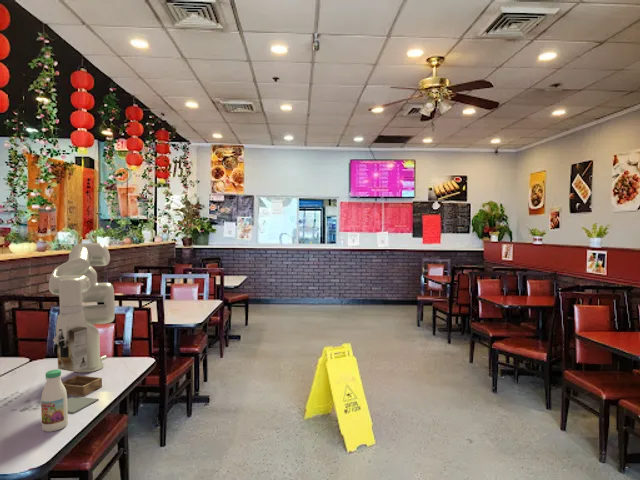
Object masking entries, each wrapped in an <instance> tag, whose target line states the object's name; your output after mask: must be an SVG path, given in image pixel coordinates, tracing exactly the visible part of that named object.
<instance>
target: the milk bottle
mask: <svg viewBox="0 0 640 480" xmlns="http://www.w3.org/2000/svg"><path fill="white" fill-rule="evenodd" d="M61 377H62V370H61V369H51V370H49V371H46V373H45V380H46V382H45V385H44V388H43V390H42V391H41V392H42V393H41V397H40V400H41V401H40V406H41V407H40V408H41V409H40V411H41V414H40V415H41V429H42V431H43V432H46V433H49V432H50V433H51V432H56V431H59V430H62V429H64V428H65V427H67V426H68V423H69V419H68V417H69V416H68V415H69V413H68V411H67V399H68V395H67V393H66V389H65V387H64V385H63V383H62V382H63V380H62V379H61Z"/></svg>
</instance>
